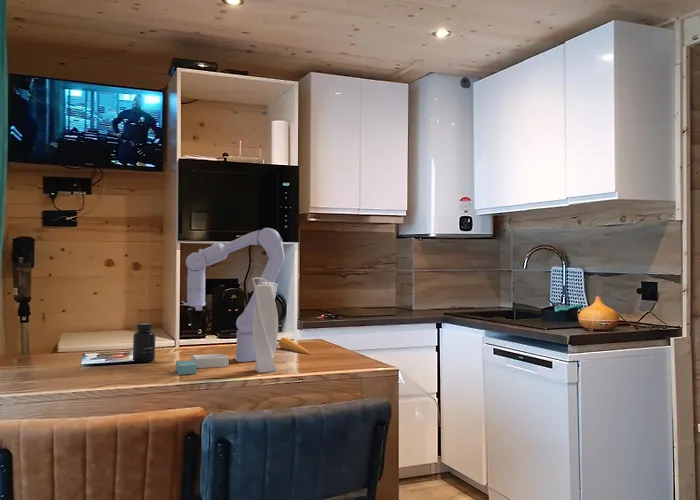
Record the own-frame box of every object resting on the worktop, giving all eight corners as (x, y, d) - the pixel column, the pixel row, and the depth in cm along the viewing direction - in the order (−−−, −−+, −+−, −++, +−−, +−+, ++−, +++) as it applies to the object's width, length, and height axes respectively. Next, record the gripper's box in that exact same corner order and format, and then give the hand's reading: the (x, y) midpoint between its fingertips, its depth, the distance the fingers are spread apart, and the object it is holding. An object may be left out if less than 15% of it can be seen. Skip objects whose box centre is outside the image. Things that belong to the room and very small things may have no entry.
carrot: (278, 350, 231) (275, 339, 229) (288, 344, 233) (285, 334, 232) (308, 363, 215) (305, 351, 214) (319, 357, 217) (315, 346, 216)
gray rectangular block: (224, 362, 200) (224, 353, 200) (228, 366, 192) (228, 357, 192) (190, 363, 196) (191, 354, 196) (194, 368, 188) (194, 359, 188)
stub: (193, 368, 187) (193, 360, 187) (196, 373, 179) (196, 364, 179) (175, 369, 185) (175, 361, 185) (178, 374, 177) (178, 365, 177)
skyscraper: (255, 373, 181) (256, 277, 181) (247, 369, 187) (248, 276, 188) (281, 371, 185) (282, 277, 185) (272, 367, 191) (273, 276, 191)
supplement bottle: (148, 363, 196) (148, 325, 196) (128, 362, 198) (129, 324, 198) (159, 359, 203) (159, 323, 203) (140, 358, 204) (140, 322, 204)
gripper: (181, 288, 210) (180, 328, 210) (186, 290, 196) (185, 333, 196) (202, 288, 212) (202, 327, 212) (208, 290, 199) (208, 333, 199)
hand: (195, 330), depth 204 cm, fingers closed
